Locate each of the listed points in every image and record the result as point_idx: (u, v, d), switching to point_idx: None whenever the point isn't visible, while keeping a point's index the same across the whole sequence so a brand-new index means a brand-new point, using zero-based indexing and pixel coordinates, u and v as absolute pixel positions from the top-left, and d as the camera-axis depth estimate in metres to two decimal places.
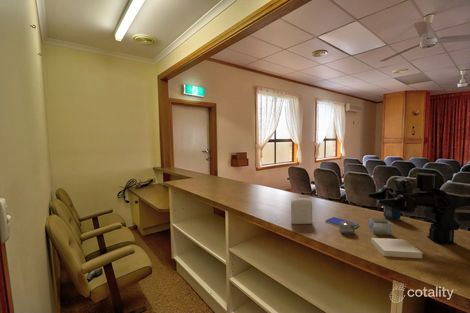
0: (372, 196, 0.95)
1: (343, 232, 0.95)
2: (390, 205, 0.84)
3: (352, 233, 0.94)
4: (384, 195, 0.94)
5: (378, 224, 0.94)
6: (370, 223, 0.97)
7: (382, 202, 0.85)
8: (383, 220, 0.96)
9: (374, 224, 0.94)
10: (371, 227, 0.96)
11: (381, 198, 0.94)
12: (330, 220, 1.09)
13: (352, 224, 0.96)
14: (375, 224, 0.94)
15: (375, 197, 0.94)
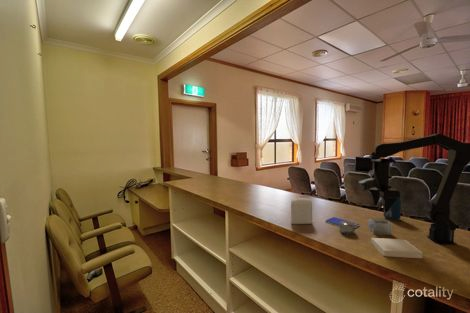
0: (376, 202, 1.00)
1: (343, 232, 0.95)
2: (390, 204, 0.90)
3: (352, 233, 0.94)
4: (375, 191, 1.00)
5: (378, 224, 0.94)
6: (370, 223, 0.97)
7: (387, 209, 0.91)
8: (383, 220, 0.96)
9: (374, 224, 0.94)
10: (371, 227, 0.96)
11: (378, 193, 1.00)
12: (330, 220, 1.09)
13: (352, 224, 0.96)
14: (375, 224, 0.94)
15: (377, 199, 1.00)
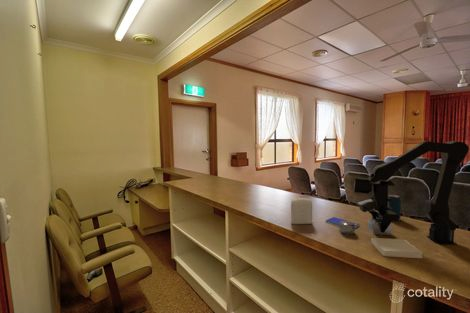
0: None
1: (344, 232, 0.95)
2: (387, 225, 0.92)
3: (352, 233, 0.94)
4: (376, 213, 0.99)
5: (378, 224, 0.94)
6: (370, 223, 0.97)
7: (383, 230, 0.93)
8: None
9: (374, 224, 0.94)
10: (371, 227, 0.96)
11: None
12: (330, 220, 1.09)
13: (352, 224, 0.96)
14: (375, 224, 0.94)
15: None
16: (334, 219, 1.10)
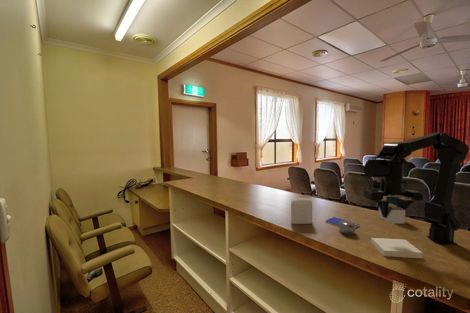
0: None
1: (345, 232, 0.94)
2: (383, 209, 0.82)
3: (353, 232, 0.94)
4: (400, 201, 0.83)
5: None
6: None
7: (383, 215, 0.83)
8: (393, 206, 0.82)
9: None
10: None
11: (402, 204, 0.82)
12: (330, 220, 1.08)
13: (352, 223, 0.96)
14: None
15: None
16: (334, 219, 1.10)
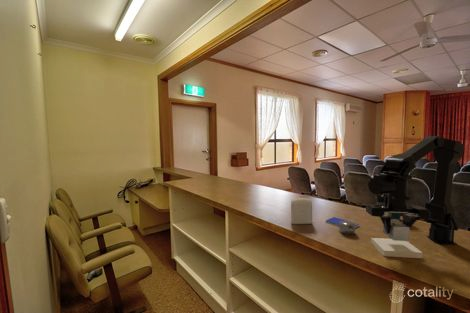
0: None
1: (346, 232, 0.94)
2: (385, 225, 0.80)
3: (353, 232, 0.94)
4: (405, 217, 0.80)
5: None
6: None
7: (386, 231, 0.81)
8: (396, 222, 0.79)
9: None
10: None
11: (407, 221, 0.79)
12: (330, 220, 1.08)
13: (352, 223, 0.96)
14: None
15: None
16: (334, 219, 1.10)
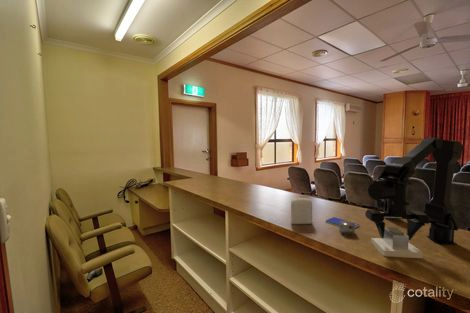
0: (409, 236, 0.80)
1: (347, 233, 0.94)
2: (380, 230, 0.80)
3: (354, 232, 0.95)
4: (410, 222, 0.80)
5: (385, 230, 0.83)
6: None
7: (380, 235, 0.81)
8: (396, 231, 0.79)
9: None
10: None
11: (412, 227, 0.78)
12: (330, 220, 1.08)
13: (351, 223, 0.96)
14: None
15: (410, 233, 0.79)
16: (334, 219, 1.10)
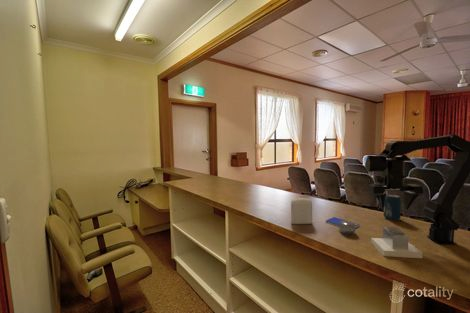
0: (406, 206, 0.90)
1: (348, 233, 0.94)
2: (380, 201, 0.90)
3: (354, 232, 0.95)
4: (407, 194, 0.90)
5: (385, 230, 0.83)
6: None
7: (381, 207, 0.91)
8: (396, 231, 0.79)
9: (383, 229, 0.84)
10: None
11: (409, 197, 0.88)
12: (330, 220, 1.08)
13: (351, 223, 0.97)
14: (383, 229, 0.84)
15: (407, 203, 0.89)
16: (334, 219, 1.10)
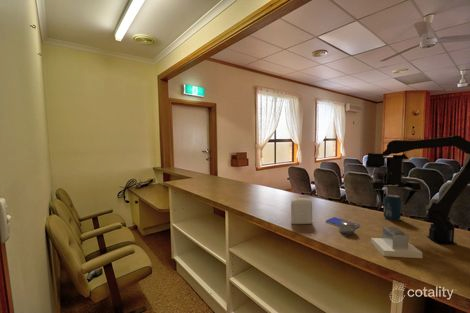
0: (404, 201, 0.96)
1: (350, 233, 0.94)
2: (380, 196, 0.96)
3: None
4: (406, 190, 0.95)
5: (385, 230, 0.83)
6: None
7: (380, 201, 0.97)
8: (396, 231, 0.79)
9: (383, 229, 0.84)
10: None
11: (407, 193, 0.94)
12: (330, 220, 1.08)
13: (350, 222, 0.97)
14: (383, 229, 0.84)
15: (405, 199, 0.95)
16: (334, 219, 1.10)
